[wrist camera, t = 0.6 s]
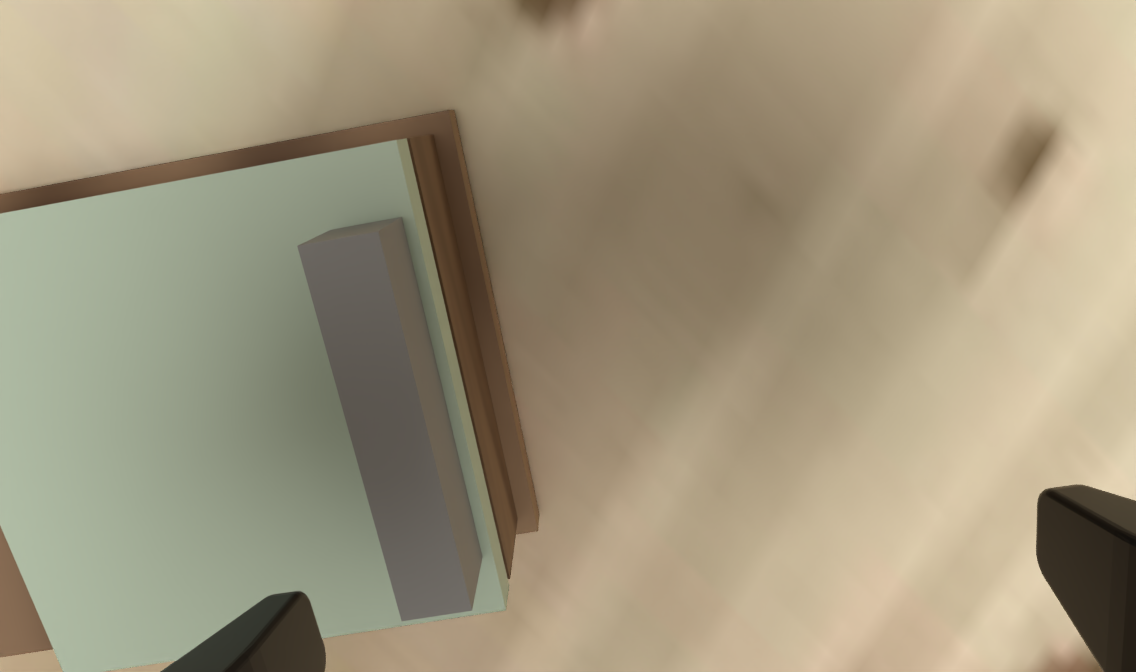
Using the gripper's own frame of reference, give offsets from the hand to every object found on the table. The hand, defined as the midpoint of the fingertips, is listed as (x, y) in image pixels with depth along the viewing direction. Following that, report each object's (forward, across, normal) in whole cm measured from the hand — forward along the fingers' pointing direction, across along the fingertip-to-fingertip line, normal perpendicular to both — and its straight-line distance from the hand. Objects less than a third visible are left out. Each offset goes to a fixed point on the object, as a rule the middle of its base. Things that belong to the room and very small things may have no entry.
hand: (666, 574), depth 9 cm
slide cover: (+9, +9, +1) cm, 13 cm away
